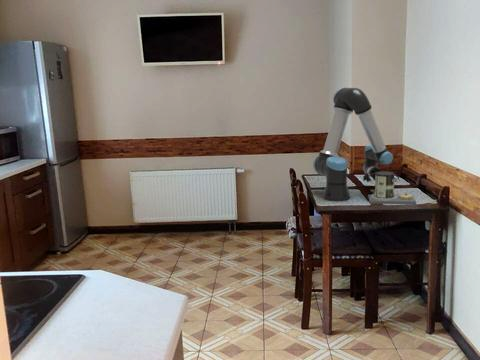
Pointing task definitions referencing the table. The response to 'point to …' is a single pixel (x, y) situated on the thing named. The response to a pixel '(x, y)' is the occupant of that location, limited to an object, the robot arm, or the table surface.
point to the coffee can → (384, 185)
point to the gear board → (393, 199)
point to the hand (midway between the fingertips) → (384, 180)
